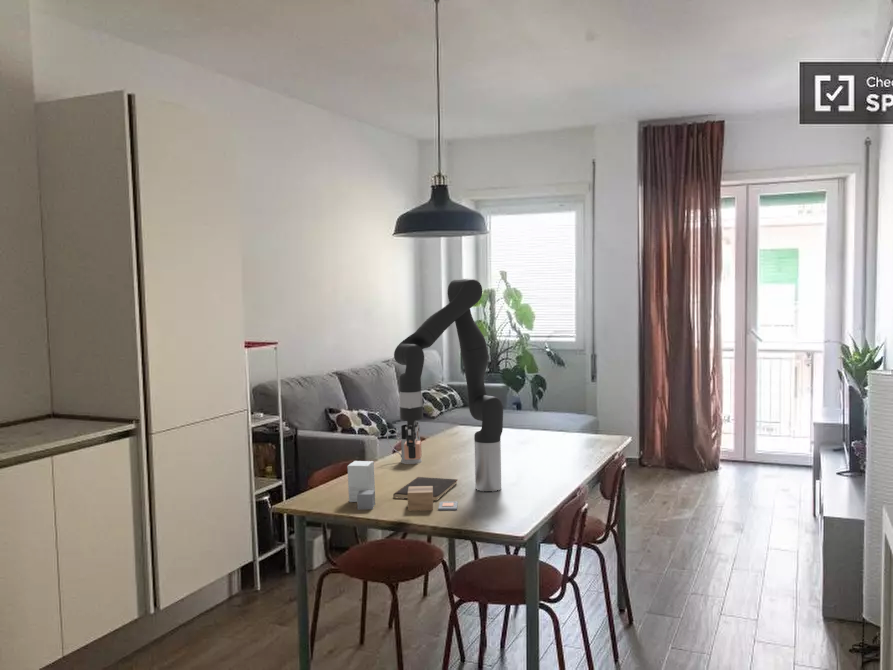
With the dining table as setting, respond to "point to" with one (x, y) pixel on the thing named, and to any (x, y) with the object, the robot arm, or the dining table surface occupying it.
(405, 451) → the terracotta block
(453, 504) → the card
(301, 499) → the dining table surface
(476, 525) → the dining table surface
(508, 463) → the dining table surface
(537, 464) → the dining table surface
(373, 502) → the grey cube
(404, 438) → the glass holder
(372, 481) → the supplement box
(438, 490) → the hardcover book
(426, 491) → the walnut base block
